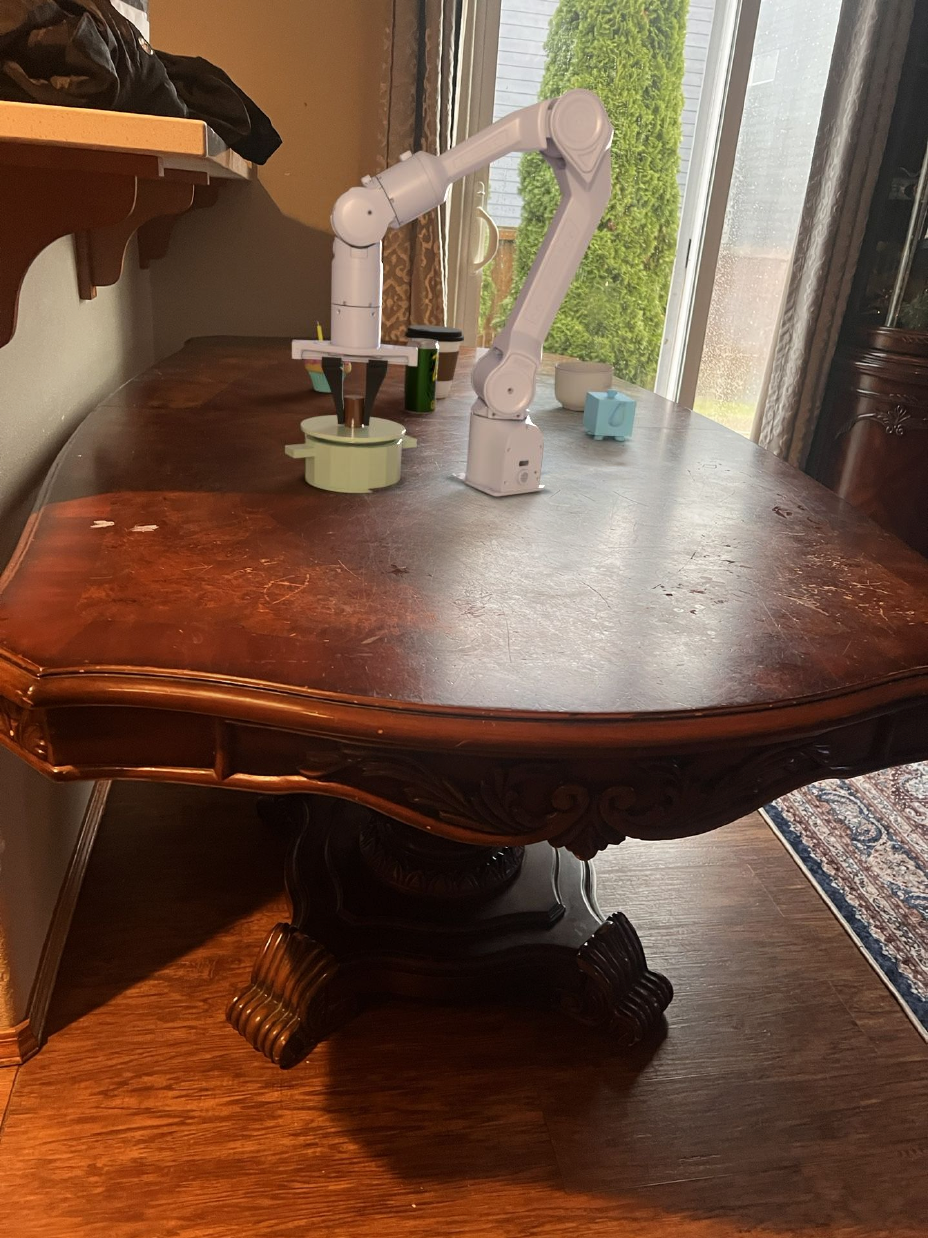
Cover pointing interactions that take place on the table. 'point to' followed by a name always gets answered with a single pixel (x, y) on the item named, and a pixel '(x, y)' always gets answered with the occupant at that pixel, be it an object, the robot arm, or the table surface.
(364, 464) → the pale green cooking pot
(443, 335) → the coffee cup
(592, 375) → the teacup
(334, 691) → the table surface
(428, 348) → the beer can
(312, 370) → the cupcake
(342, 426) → the pale green pot lid
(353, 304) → the robot arm
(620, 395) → the teapot
